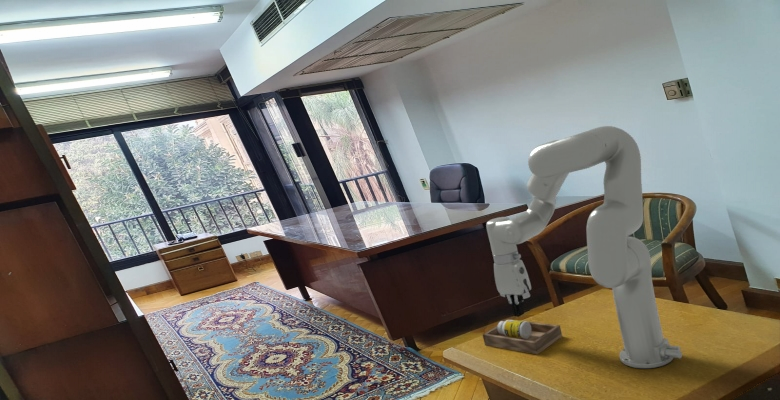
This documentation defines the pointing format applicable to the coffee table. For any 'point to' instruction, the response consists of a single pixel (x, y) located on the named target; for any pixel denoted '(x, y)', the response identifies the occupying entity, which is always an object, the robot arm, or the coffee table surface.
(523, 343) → the tray
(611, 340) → the coffee table surface
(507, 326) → the supplement bottle
